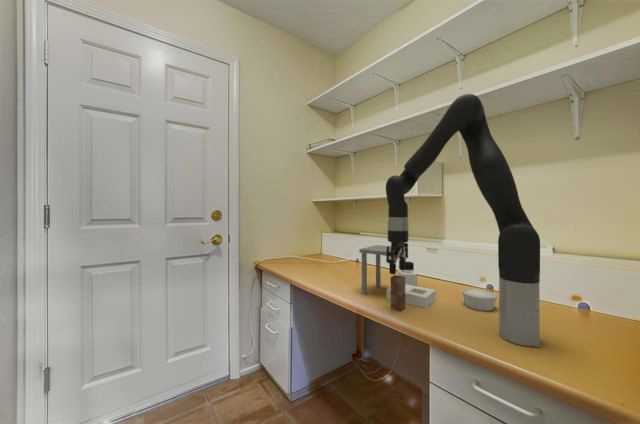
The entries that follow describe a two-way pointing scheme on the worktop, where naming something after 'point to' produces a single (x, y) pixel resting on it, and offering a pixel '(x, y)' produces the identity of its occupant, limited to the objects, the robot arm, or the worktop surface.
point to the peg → (397, 293)
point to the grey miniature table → (378, 251)
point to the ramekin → (479, 299)
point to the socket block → (417, 295)
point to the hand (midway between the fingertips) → (397, 271)
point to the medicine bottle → (409, 274)
